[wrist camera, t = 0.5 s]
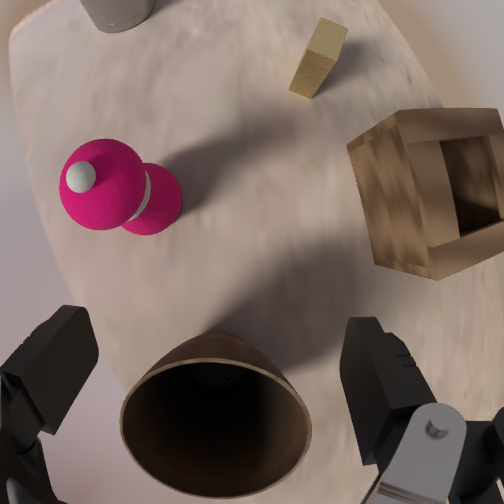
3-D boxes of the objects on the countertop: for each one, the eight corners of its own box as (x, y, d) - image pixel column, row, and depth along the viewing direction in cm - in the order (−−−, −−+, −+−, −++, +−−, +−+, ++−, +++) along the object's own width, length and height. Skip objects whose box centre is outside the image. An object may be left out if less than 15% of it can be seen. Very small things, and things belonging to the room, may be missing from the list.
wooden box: (346, 144, 35) (399, 110, 22) (435, 133, 36) (497, 108, 23) (374, 264, 37) (437, 280, 24) (459, 236, 37) (525, 240, 24)
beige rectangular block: (300, 60, 34) (321, 16, 24) (322, 69, 34) (348, 28, 24) (288, 89, 34) (307, 48, 24) (311, 99, 34) (336, 61, 24)
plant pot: (270, 414, 37) (292, 501, 21) (157, 403, 36) (127, 487, 20) (288, 308, 36) (330, 365, 20) (160, 295, 35) (113, 343, 19)
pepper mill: (152, 159, 34) (76, 89, 14) (199, 196, 34) (164, 157, 14) (114, 208, 34) (6, 192, 14) (160, 247, 34) (82, 271, 15)
